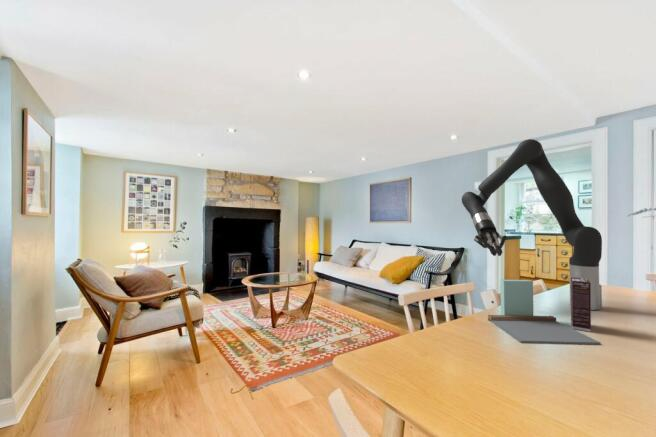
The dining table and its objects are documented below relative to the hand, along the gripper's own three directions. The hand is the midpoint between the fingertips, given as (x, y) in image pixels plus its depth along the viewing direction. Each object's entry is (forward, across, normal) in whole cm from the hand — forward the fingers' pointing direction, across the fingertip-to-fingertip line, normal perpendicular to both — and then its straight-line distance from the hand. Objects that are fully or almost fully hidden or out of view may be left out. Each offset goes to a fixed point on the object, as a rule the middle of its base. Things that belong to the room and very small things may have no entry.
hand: (497, 254), depth 120 cm
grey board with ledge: (+33, 0, -2) cm, 33 cm away
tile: (+25, 0, +6) cm, 26 cm away
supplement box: (+30, +16, +1) cm, 34 cm away
